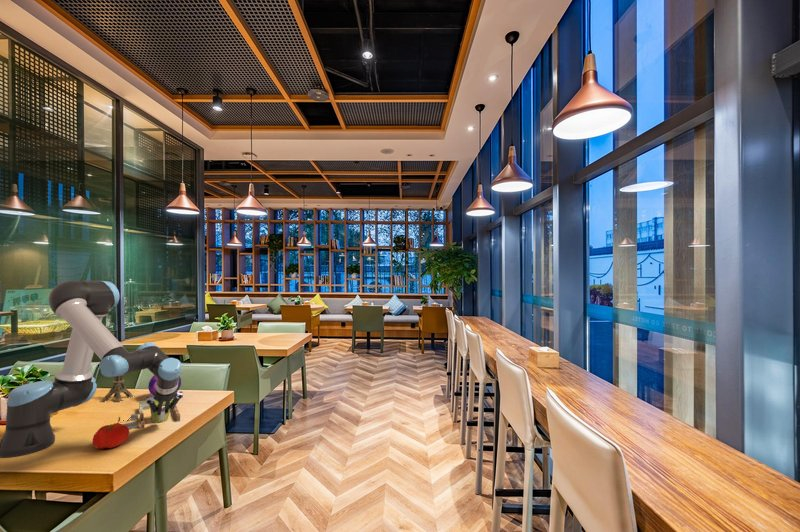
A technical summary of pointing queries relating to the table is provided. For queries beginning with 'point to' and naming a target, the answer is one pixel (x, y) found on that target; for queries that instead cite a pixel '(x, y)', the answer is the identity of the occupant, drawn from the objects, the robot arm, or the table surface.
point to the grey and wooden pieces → (135, 416)
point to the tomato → (110, 436)
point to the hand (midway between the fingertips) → (161, 416)
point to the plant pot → (156, 417)
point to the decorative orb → (153, 385)
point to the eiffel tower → (117, 390)
